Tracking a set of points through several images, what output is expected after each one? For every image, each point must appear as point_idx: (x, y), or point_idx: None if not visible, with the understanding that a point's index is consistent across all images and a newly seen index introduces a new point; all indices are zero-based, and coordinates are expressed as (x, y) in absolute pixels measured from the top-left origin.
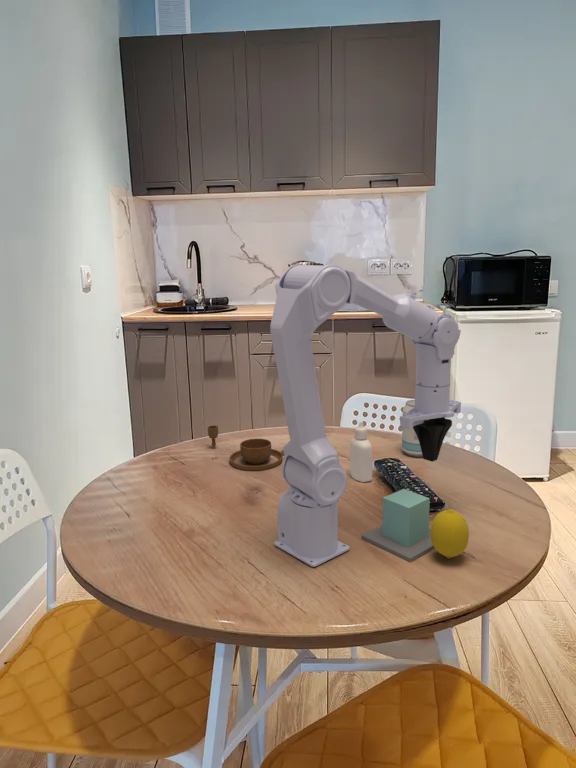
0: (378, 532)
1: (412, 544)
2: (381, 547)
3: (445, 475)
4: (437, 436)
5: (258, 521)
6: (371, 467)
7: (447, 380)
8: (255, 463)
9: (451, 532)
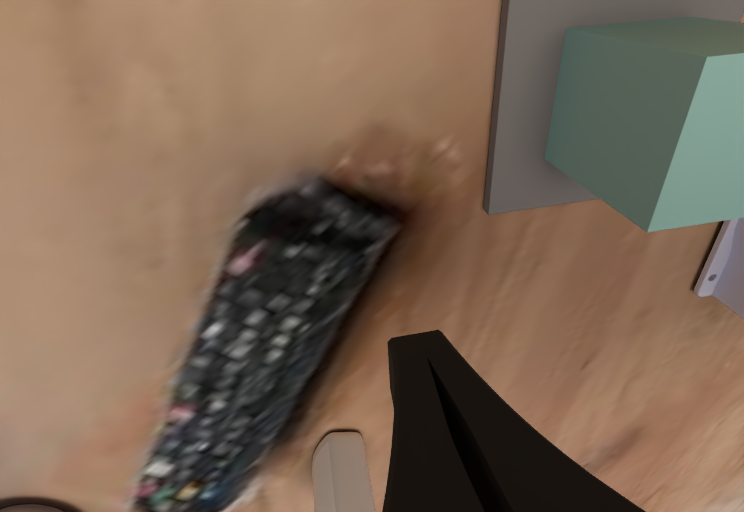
0: None
1: (665, 19)
2: None
3: (50, 379)
4: (564, 503)
5: (703, 371)
6: (337, 473)
7: None
8: None
9: None
